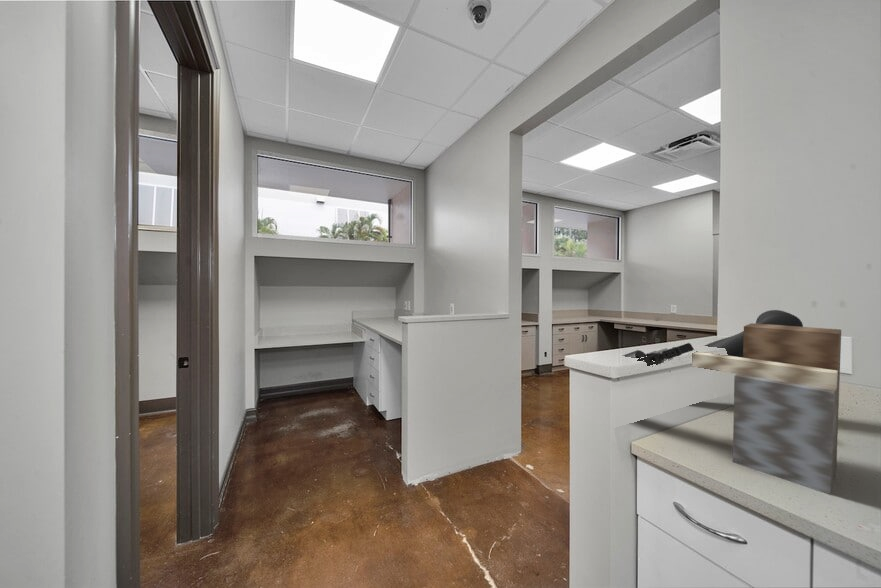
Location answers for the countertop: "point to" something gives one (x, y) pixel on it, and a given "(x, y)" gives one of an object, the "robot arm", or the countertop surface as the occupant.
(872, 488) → the countertop surface
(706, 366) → the ash bar
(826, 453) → the stepped pedestal
